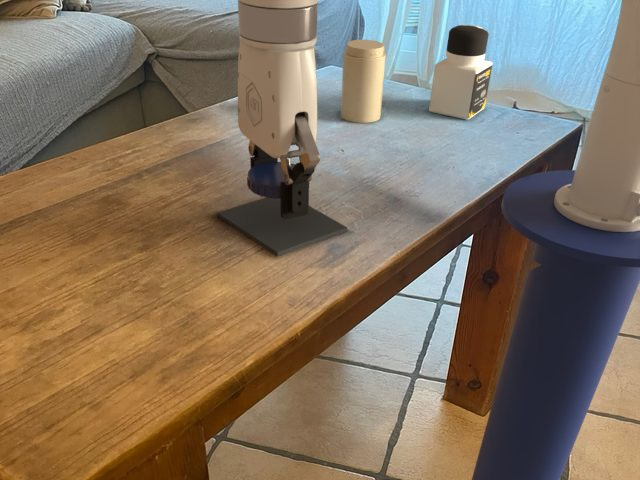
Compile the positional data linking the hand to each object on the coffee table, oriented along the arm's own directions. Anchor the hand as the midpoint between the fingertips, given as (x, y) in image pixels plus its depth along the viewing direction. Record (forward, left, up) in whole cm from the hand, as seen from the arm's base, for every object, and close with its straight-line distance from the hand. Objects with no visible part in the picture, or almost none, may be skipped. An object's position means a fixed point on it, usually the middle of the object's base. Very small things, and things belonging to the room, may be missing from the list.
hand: (279, 201), depth 75 cm
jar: (+23, -33, -3) cm, 40 cm away
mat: (0, 0, -3) cm, 3 cm away
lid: (0, 0, +3) cm, 3 cm away
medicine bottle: (+16, -48, -3) cm, 51 cm away
